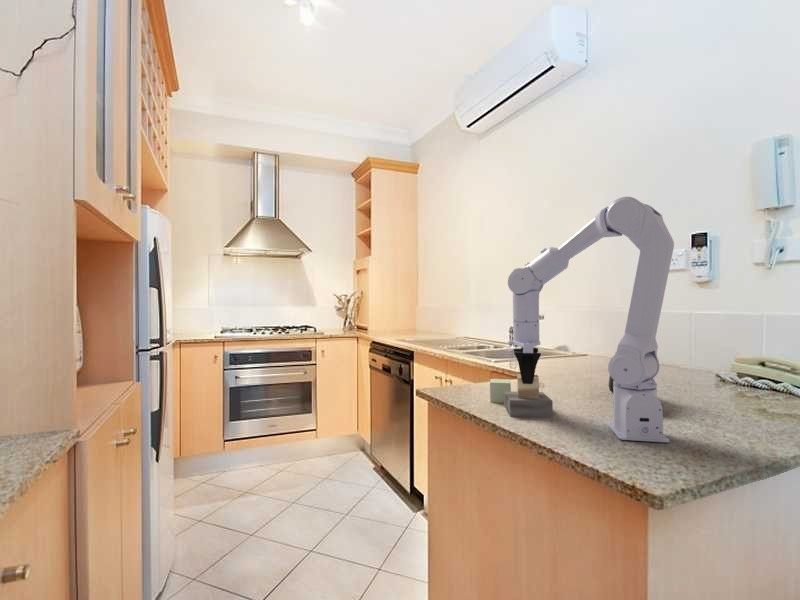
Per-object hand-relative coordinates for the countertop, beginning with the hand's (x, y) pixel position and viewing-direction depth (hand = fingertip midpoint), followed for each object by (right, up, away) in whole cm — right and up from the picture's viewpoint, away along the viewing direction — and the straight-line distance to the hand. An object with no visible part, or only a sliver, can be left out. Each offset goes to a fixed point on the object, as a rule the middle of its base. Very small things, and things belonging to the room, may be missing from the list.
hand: (526, 381), depth 95 cm
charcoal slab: (0, -7, 0) cm, 7 cm away
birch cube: (0, -3, 0) cm, 3 cm away
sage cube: (-3, -7, +11) cm, 14 cm away
